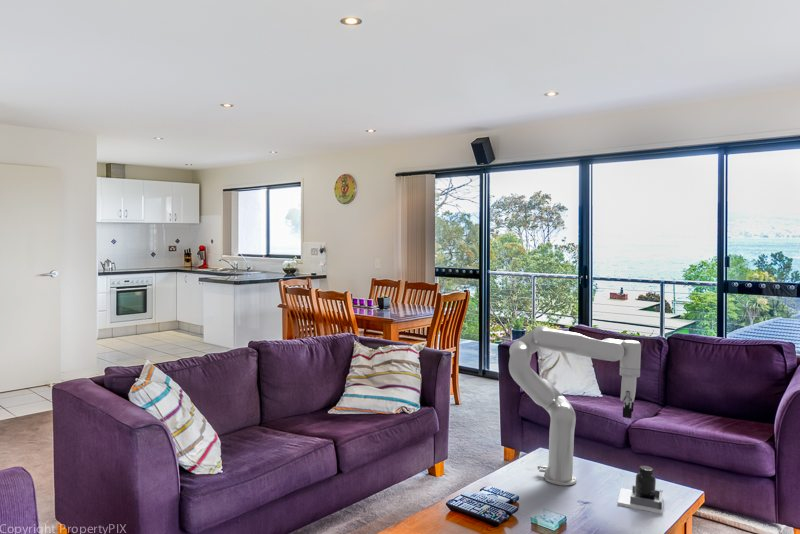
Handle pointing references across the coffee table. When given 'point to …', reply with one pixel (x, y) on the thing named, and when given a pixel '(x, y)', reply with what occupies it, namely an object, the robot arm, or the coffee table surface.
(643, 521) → the coffee table surface
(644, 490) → the supplement bottle
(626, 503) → the cradle tray
